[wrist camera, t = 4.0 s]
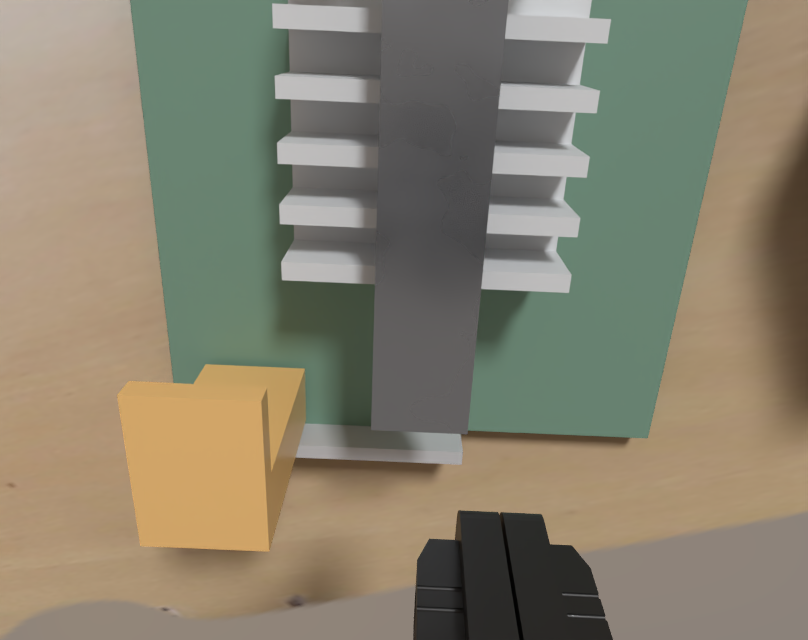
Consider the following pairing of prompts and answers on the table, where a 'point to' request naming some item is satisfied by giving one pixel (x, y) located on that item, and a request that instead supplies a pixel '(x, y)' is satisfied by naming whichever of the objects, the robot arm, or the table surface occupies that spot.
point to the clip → (213, 455)
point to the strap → (433, 206)
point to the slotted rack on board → (507, 219)
